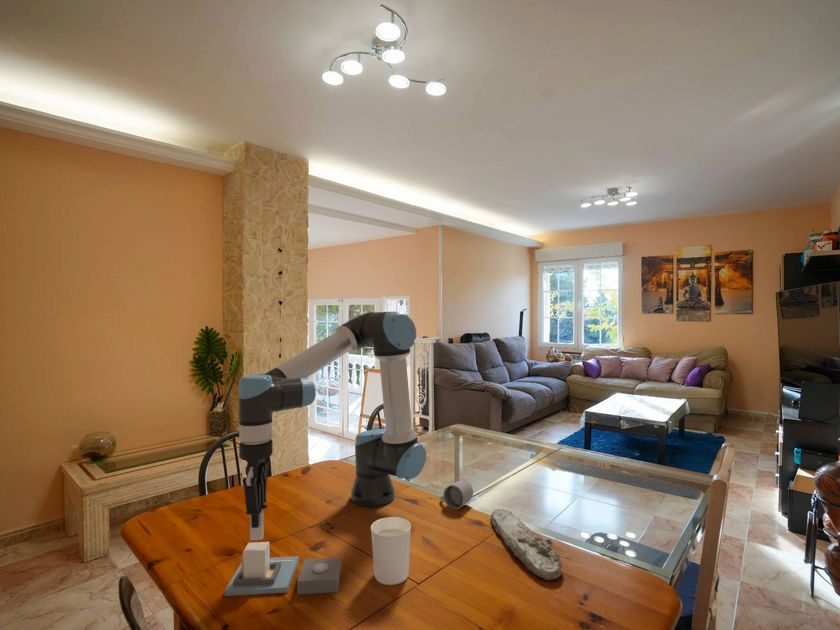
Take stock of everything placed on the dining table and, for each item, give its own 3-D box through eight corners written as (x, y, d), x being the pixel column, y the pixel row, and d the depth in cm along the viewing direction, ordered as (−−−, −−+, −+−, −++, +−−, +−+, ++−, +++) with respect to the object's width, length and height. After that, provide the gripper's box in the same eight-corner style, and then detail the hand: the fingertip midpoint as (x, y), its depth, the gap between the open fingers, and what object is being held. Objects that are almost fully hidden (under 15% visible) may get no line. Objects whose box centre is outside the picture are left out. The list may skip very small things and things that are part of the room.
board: (298, 560, 114) (298, 551, 114) (287, 592, 101) (287, 582, 101) (243, 563, 113) (243, 554, 113) (224, 596, 100) (224, 585, 100)
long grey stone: (512, 519, 139) (482, 525, 136) (511, 502, 139) (481, 508, 137) (575, 578, 105) (536, 587, 102) (573, 555, 105) (534, 563, 103)
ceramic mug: (475, 502, 148) (474, 479, 148) (463, 511, 141) (463, 487, 141) (447, 496, 154) (446, 474, 154) (435, 505, 147) (434, 482, 147)
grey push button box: (341, 569, 110) (341, 555, 110) (337, 592, 101) (337, 577, 101) (304, 571, 109) (304, 557, 109) (297, 594, 100) (297, 579, 100)
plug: (269, 570, 108) (269, 541, 108) (265, 579, 104) (265, 550, 104) (245, 571, 107) (245, 542, 107) (240, 581, 103) (239, 551, 103)
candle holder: (417, 567, 110) (416, 519, 110) (402, 590, 101) (402, 538, 101) (381, 560, 114) (380, 514, 114) (364, 583, 104) (363, 532, 104)
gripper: (248, 433, 112) (249, 526, 112) (230, 448, 99) (231, 553, 99) (278, 432, 112) (279, 524, 112) (264, 447, 99) (265, 552, 99)
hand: (257, 538), depth 105 cm, fingers closed
